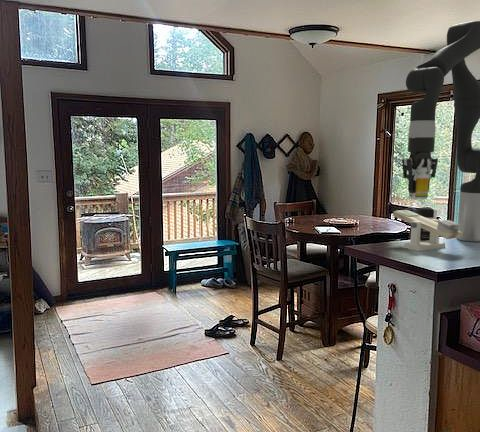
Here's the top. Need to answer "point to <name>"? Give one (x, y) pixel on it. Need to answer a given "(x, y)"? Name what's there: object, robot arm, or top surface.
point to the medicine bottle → (430, 214)
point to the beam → (431, 224)
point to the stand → (422, 245)
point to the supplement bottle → (421, 185)
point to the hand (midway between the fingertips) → (418, 192)
